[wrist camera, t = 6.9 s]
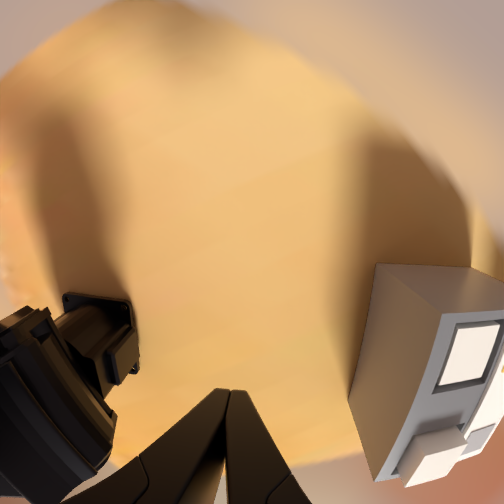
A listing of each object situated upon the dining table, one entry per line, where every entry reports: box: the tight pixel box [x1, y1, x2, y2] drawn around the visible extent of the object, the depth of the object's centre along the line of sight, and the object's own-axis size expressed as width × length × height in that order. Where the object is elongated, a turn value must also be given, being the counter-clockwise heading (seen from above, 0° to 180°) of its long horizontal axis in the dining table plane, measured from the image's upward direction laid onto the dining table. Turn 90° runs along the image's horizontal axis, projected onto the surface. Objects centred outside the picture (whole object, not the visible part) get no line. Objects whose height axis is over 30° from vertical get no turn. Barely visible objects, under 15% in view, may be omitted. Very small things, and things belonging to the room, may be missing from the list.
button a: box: [396, 425, 468, 487], centre depth 13 cm, size 3×3×3 cm
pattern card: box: [456, 343, 504, 462], centre depth 12 cm, size 3×11×1 cm, turn 177°
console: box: [348, 263, 504, 482], centre depth 16 cm, size 9×12×9 cm
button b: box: [437, 320, 500, 385], centre depth 13 cm, size 3×3×3 cm
